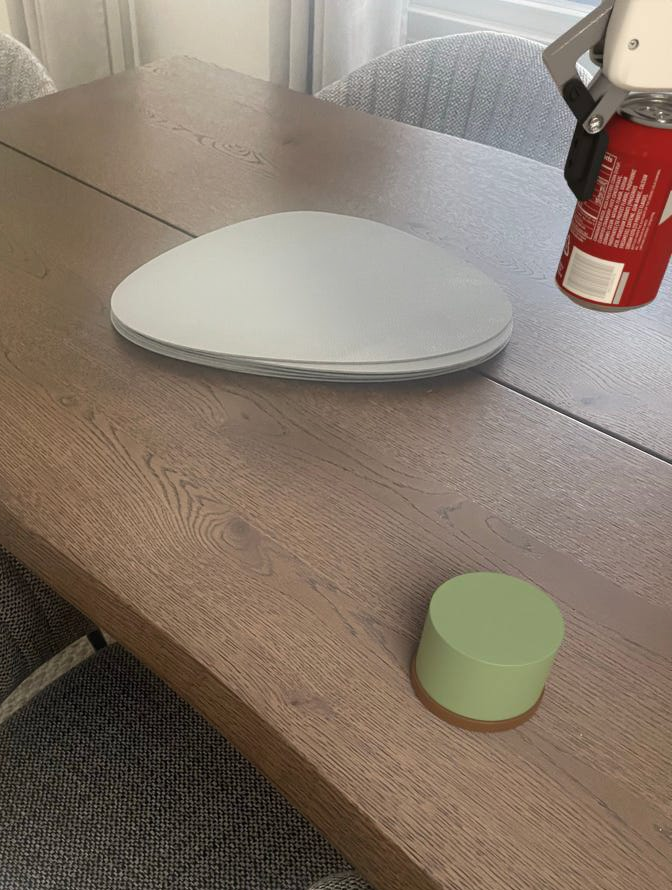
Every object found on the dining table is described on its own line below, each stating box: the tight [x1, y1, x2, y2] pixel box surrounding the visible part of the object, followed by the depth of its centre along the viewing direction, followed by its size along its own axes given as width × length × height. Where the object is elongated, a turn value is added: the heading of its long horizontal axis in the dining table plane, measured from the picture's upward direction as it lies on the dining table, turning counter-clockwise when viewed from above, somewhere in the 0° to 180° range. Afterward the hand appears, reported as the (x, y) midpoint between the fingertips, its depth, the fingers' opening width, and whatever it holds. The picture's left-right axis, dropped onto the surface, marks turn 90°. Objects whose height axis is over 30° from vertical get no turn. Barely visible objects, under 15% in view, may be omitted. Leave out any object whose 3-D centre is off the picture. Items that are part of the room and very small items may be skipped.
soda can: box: [554, 92, 672, 314], centre depth 63 cm, size 7×7×12 cm
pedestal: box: [409, 571, 566, 733], centre depth 65 cm, size 9×9×6 cm
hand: (636, 190), depth 62 cm, fingers closed on soda can, 6 cm apart
